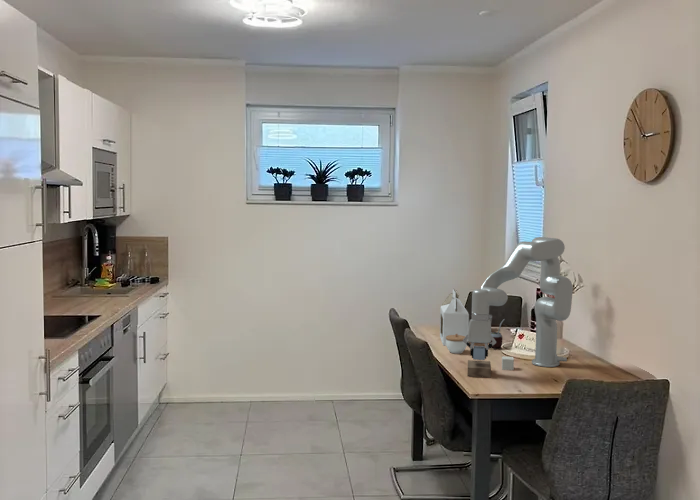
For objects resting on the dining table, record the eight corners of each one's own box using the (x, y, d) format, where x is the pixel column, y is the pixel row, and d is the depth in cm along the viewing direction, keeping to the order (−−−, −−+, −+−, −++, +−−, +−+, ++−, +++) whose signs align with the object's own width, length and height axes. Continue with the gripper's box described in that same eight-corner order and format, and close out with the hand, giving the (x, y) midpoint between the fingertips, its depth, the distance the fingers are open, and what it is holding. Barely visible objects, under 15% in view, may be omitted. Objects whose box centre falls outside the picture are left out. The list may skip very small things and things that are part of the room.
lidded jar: (444, 349, 338) (444, 331, 337) (465, 349, 337) (465, 331, 337) (446, 354, 327) (447, 336, 326) (468, 354, 327) (468, 336, 326)
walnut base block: (490, 370, 298) (490, 361, 298) (490, 377, 286) (491, 368, 285) (467, 368, 300) (467, 360, 300) (467, 376, 287) (467, 367, 287)
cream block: (512, 367, 303) (513, 356, 303) (513, 370, 298) (513, 359, 298) (501, 367, 304) (502, 356, 304) (502, 369, 299) (502, 359, 299)
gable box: (468, 346, 346) (469, 293, 343) (443, 345, 346) (443, 293, 344) (463, 337, 368) (464, 287, 365) (439, 336, 368) (440, 287, 366)
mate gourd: (487, 349, 339) (488, 320, 338) (489, 346, 346) (490, 317, 345) (502, 350, 336) (502, 321, 335) (504, 347, 344) (504, 318, 342)
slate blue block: (484, 357, 294) (484, 346, 294) (484, 360, 289) (485, 348, 289) (473, 356, 295) (473, 345, 295) (473, 359, 290) (473, 348, 290)
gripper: (499, 316, 293) (498, 356, 294) (460, 315, 296) (459, 354, 297) (500, 319, 286) (498, 360, 287) (460, 317, 289) (459, 358, 290)
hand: (478, 357), depth 292 cm, fingers closed on slate blue block, 4 cm apart
